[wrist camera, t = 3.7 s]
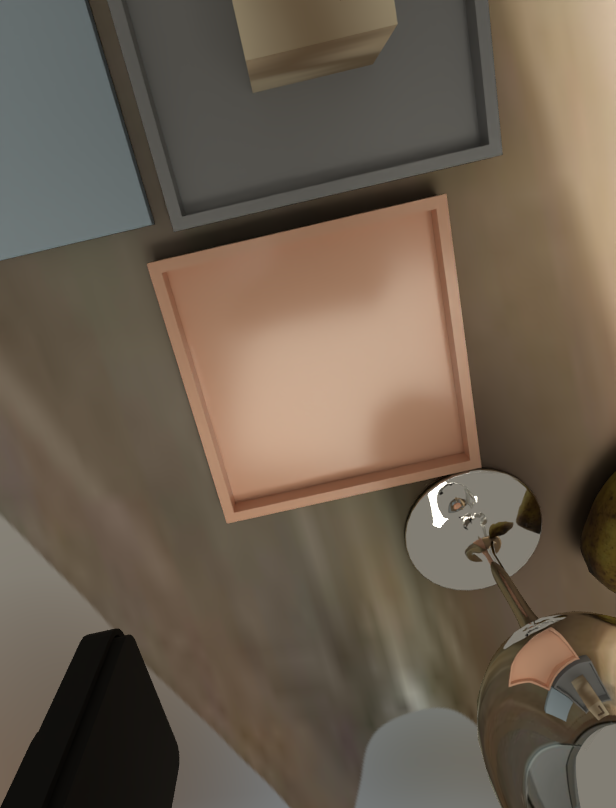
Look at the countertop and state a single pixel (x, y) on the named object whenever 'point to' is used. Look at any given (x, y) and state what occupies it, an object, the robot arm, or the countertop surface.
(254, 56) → the letter cube
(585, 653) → the wineglass
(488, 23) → the charcoal tray
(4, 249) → the mat
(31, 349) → the countertop surface
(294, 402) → the terracotta tray
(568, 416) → the countertop surface
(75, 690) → the robot arm
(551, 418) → the countertop surface
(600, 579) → the potato
